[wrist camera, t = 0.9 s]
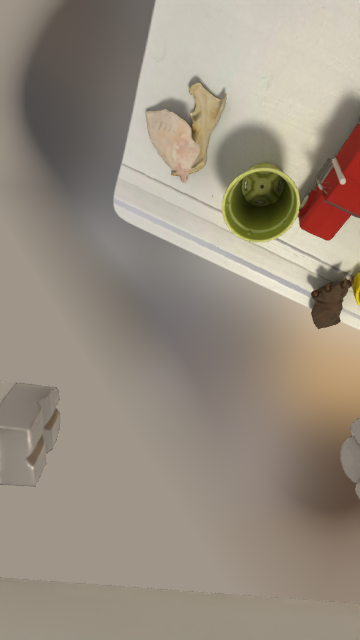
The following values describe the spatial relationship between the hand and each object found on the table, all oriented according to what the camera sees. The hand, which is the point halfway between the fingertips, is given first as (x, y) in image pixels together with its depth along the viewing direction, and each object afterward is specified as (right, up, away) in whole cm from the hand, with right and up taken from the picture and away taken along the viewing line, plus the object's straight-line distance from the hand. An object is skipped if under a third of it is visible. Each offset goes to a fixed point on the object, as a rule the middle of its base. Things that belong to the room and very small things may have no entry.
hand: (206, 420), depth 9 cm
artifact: (+1, +23, +34) cm, 41 cm away
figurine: (+23, +10, +41) cm, 49 cm away
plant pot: (+11, +22, +38) cm, 45 cm away
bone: (+1, +28, +36) cm, 45 cm away
